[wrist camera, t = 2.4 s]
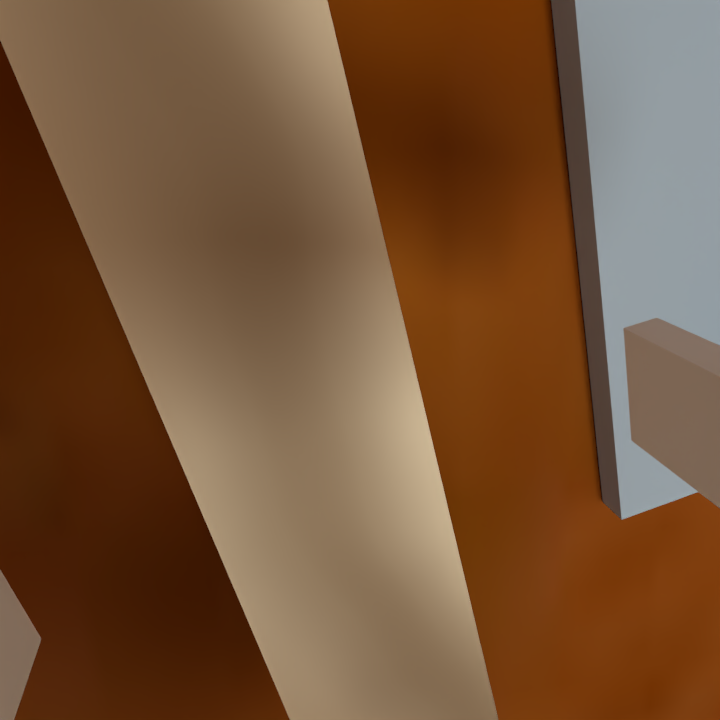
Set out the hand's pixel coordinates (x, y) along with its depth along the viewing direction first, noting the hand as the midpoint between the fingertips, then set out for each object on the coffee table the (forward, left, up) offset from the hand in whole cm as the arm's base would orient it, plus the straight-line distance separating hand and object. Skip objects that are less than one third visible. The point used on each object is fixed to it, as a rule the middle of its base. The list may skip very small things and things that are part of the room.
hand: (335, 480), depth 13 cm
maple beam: (0, 0, -8) cm, 8 cm away
